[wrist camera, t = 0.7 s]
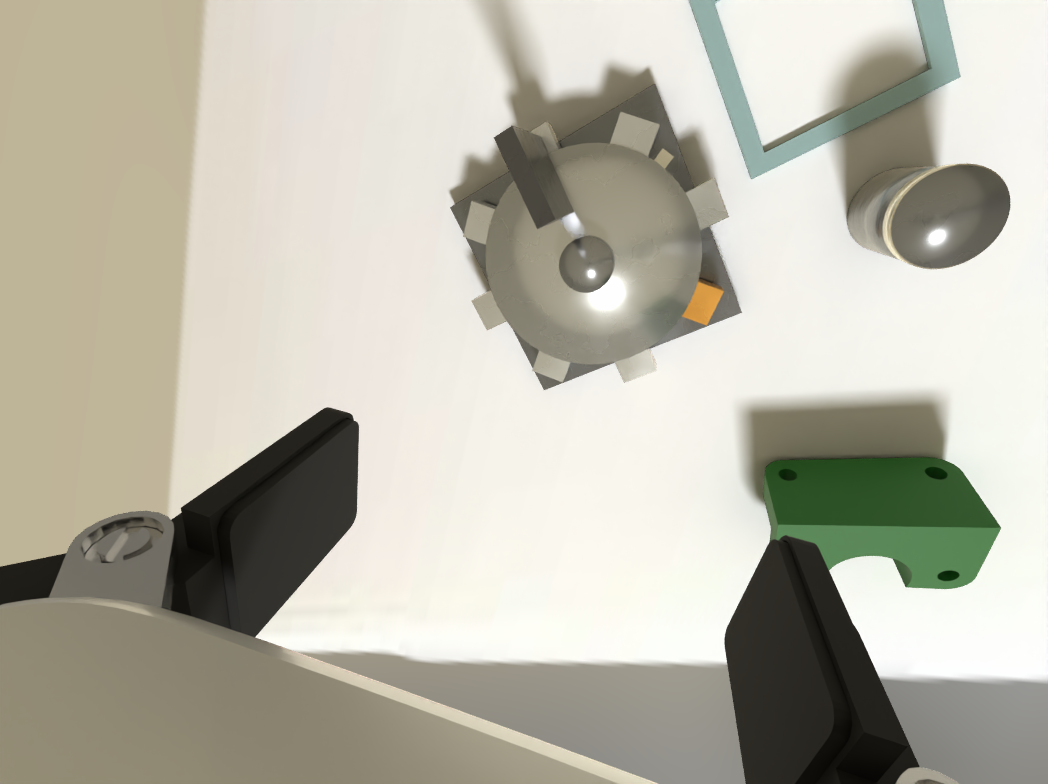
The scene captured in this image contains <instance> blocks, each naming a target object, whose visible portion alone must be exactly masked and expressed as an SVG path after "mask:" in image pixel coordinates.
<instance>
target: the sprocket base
mask: <svg viewBox="0 0 1048 784" xmlns="http://www.w3.org/2000/svg"><path fill="white" fill-rule="evenodd" d="M620 112H623V113H626V114H629V115H632V116H635V117H638V118H641V119H644V120H648V121H651V122H654V123H657V124H660V127H659V130H658V133H657V135H656V138H655V141H654V143H653V146H652V149H651V151H650V154H649V158H651V159H653V160H654V161H656V162H657V163H659V164H660V165H661V166H662V167H663V168H665V169H666V170H667V171H668V172H669V173H670V174H671V175H672V176H673V177H674V178H675V179H676V181H677V182H678V183H679V184H680V186H681V187H682V189H683V190H684V192H686V191H688V190H690V189H692V188H694V186H693V183H692V180H691V178H690V175H689V172H688V170H687V167H686V165H685V162H684V159H683V157H682V154H681V151H680V149H679V146H678V144H677V141H676V138H675V136H674V133H673V130H672V128H671V125H670V123H669V120H668V117H667V115H666V112H665V109H664V107H663V104H662V101H661V99H660V96H659V94H658V91H657V88H656V86H655V84H654V85H652V86H650V87H649V88H647V89H645V90H644V91H642V92H640V93H639V94H637V95H635V96H634V97H632V98H630V99H629V100H627V101H625V102H624V103H622V104H620V105H619V106H617V107H616V108H614V109H612V110H611V111H609V112H607V113H606V114H604V115H602V116H601V117H599V118H597V119H596V120H594V121H592V122H591V123H589V124H587V125H586V126H584V127H582V128H581V129H579V130H577V131H576V132H574V133H573V134H571V135H569V136H568V137H566V138H564V139H563V140H561V141H559V144H560V146H561V148H565V147H567V146H572V145H577V144H582V143H608V144H610V142H611V139H612V136H613V133H614V130H615V127H616V124H617V121H618V118H619V115H620ZM513 181H514V179H513V177H512V175H511V173H510V172H508V173H506V174H505V175H503V176H501V177H500V178H498V179H496V180H495V181H493V182H491V183H490V184H488V185H487V186H485V187H483V188H482V189H480V190H478V191H477V192H475V193H473V194H472V195H470V196H468V197H467V198H465V199H463V200H462V201H460V202H458V203H457V204H455V205H453V206H452V207H450V208H451V210H452V212H453V214H454V216H455V218H456V220H457V222H458V224H459V226H460V228H461V230H462V231H463V233H464V231H465V227H466V222H467V218H468V214H469V210H470V205H471V201H476V200H480V201H483V202H486V203H488V204H491V205H494V206H497V205H498V203H499V201H500V199H501V197H502V196H503V194H504V193H505V191H506V190H507V188H508V187H509V186H510V185H511V183H512V182H513ZM700 234H701V240H702V261H701V270H700V275H699V279H702V280H704V281H707V282H710V283H713V284H716V285H718V286H721V287H722V289H723V290H724V292H723V294H722V296H721V298H720V300H719V302H718V304H717V306H716V308H715V310H714V312H713V314H712V316H711V318H710V320H709V322H708V324H707V325H704V324H701V323H698V322H696V321H693V320H690V319H687V318H685V317H681V318H680V319H679V321H678V322H677V323H676V325H675V326H674V327H673V328H672V329H671V330H670V331H669V332H668V333H667V334H666V335H665V336H664V337H663V338H662V339H660V340H659V341H658V342H657V343H655V344H654V345H652V346H651V347H649V348H653V347H655V346H658V345H660V344H663V343H666V342H668V341H671V340H673V339H676V338H678V337H681V336H683V335H686V334H688V333H691V332H694V331H696V330H699V329H701V328H704V327H706V326H709V325H711V324H714V323H716V322H719V321H722V320H724V319H727V318H729V317H732V316H734V315H737V314H739V313H742V312H741V309H740V307H739V304H738V301H737V299H736V296H735V293H734V291H733V288H732V286H731V283H730V280H729V278H728V275H727V272H726V270H725V267H724V265H723V262H722V259H721V257H720V254H719V251H718V249H717V246H716V243H715V241H714V238H713V236H712V233H711V230H710V228H709V226H708V227H706V228H704V229H702V230H700ZM466 239H467V241H468V243H469V245H470V247H471V249H472V251H473V253H474V255H475V257H476V259H477V261H478V263H479V264H480V266H481V268H482V270H483V272H484V274H485V276H486V278H487V280H488V276H487V271H486V257H485V253H486V245H485V244H482V243H479V242H477V241H474V240H471V239H468V238H466ZM513 331H514V330H513ZM514 332H515V331H514ZM515 334H516V336H517V338H518V340H519V342H520V344H521V346H522V348H523V350H524V352H525V354H526V356H527V358H528V360H529V362H530V364H531V366H532V367H534V364H535V361H536V358H537V356H538V353H539V350H538V349H536V348H535V347H533V346H531V345H530V344H529V343H528V342H526V341H525V340H524V339H523V338H521V337H520V336H519V335H518V334H517V333H516V332H515ZM612 363H615V362H611V363H606V364H592V365H591V364H578V363H572V362H571V363H570V366H569V368H568V371H567V374H566V376H565V378H564V380H563V382H560V381H558V380H555V379H552V378H550V377H547V376H545V375H542V374H540V373H537V372H535V373H536V375H537V377H538V379H539V381H540V383H541V385H542V387H543V389H544V390H546V389H548V388H551V387H554V386H556V385H559V384H561V383H564V382H566V381H569V380H571V379H574V378H576V377H579V376H582V375H584V374H587V373H589V372H592V371H594V370H597V369H599V368H602V367H604V366H607V365H610V364H612Z"/></svg>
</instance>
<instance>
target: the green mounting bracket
mask: <svg viewBox="0 0 1048 784" xmlns="http://www.w3.org/2000/svg"><path fill="white" fill-rule="evenodd" d="M763 497H764V501H765V505H766V509H767V513H768V517H769V521H770V525H771V534H770V541H771V540H773V539H776V540H780V538H781V537H783V536H785V535H787V536H791V537H795V538H798V539H802V540H805V541H809V542H812V543H815V544H816V545H817V546H818V548H819V550H820V552H821V554H822V556H823V559H824V561H825V563H826V565H827V568H828V570H830V569H831V568H832V567H833V566H835V565H836V564H838V563H840V562H842V561H844V560H847V559H851V558H855V557H860V556H883V557H889V558H893V560H894V562H895V565H896V567H897V569H898V571H899V573H900V576H901V578H902V580H903V582H904V584H905V587H912V588H934V589H952V588H958V587H961V586H964V585H967V584H969V583H970V582H972V581H973V580H974V579H975V578H976V576H977V574H978V572H979V570H980V568H981V566H982V564H983V562H984V561H985V559H986V557H987V555H988V553H989V551H990V549H991V547H992V545H993V543H994V541H995V539H996V537H997V535H998V533H999V531H1000V529H1001V527H1000V526H999V524H998V523H997V521H996V520H995V518H994V517H993V515H992V514H991V512H990V511H989V510H988V508H987V507H986V505H985V504H984V502H983V501H982V499H981V498H980V496H979V495H978V494H977V492H976V491H975V489H974V488H973V486H972V485H971V483H970V482H969V481H968V479H967V478H966V476H965V475H964V473H963V472H962V471H961V470H960V469H959V468H958V467H957V466H955V465H954V464H952V463H950V462H947V461H945V460H942V459H938V458H930V457H920V458H867V459H814V460H779V461H775V462H772V463H770V464H769V465H768V466H767V467H766V469H765V475H764V487H763Z"/></svg>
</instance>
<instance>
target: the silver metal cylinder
mask: <svg viewBox="0 0 1048 784" xmlns="http://www.w3.org/2000/svg"><path fill="white" fill-rule="evenodd" d="M1009 211H1010V195H1009V191H1008V188H1007V186H1006V184H1005V182H1004V181H1003V179H1002V178H1001V177H1000V176H999V175H998V174H997V173H996V172H994V171H992V170H991V169H989V168H986V167H984V166H980V165H976V164H950V165H943V166H931V167H909V168H896V169H891V170H888V171H885V172H882V173H880V174H878V175H876V176H875V177H873V178H872V179H870V180H869V181H868V182H866V183H865V184H864V185H863V186H862V187H861V188H860V189H859V191H858V192H857V193H856V195H855V196H854V198H853V200H852V202H851V204H850V206H849V210H848V214H847V225H848V229H849V232H850V234H851V236H852V238H853V239H854V240H855V241H856V242H857V243H858V244H859V245H861V246H862V247H864V248H866V249H869V250H872V251H875V252H878V253H881V254H884V255H887V256H890V257H893V258H896V259H899V260H901V261H903V262H905V263H908V264H910V265H913V266H916V267H920V268H925V269H943V268H948V267H953V266H956V265H959V264H961V263H964V262H966V261H968V260H970V259H972V258H974V257H975V256H977V255H978V254H980V253H981V252H982V251H984V250H985V249H986V248H987V247H988V246H989V245H990V244H991V243H992V242H993V241H994V240H995V239H996V238H997V237H998V235H999V234H1000V232H1001V231H1002V229H1003V227H1004V225H1005V223H1006V221H1007V218H1008V215H1009Z"/></svg>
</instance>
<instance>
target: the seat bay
mask: <svg viewBox="0 0 1048 784" xmlns="http://www.w3.org/2000/svg"><path fill="white" fill-rule="evenodd" d="M718 1H719V0H689V2H690V5H691V8H692V11H693V14H694V17H695V20H696V22H697V25H698V28H699V31H700V34H701V37H702V40H703V42H704V45H705V48H706V51H707V54H708V57H709V60H710V63H711V65H712V68H713V71H714V74H715V77H716V80H717V83H718V86H719V88H720V91H721V94H722V97H723V100H724V103H725V106H726V108H727V111H728V114H729V117H730V120H731V123H732V126H733V129H734V131H735V134H736V137H737V140H738V143H739V146H740V149H741V152H742V154H743V157H744V160H745V163H746V166H747V169H748V172H749V174H750V177H751V179H753V178H755V177H757V176H759V175H761V174H763V173H765V172H767V171H770V170H772V169H774V168H776V167H778V166H780V165H782V164H784V163H786V162H788V161H790V160H792V159H794V158H796V157H798V156H800V155H802V154H804V153H806V152H808V151H810V150H812V149H814V148H817V147H819V146H821V145H823V144H825V143H827V142H829V141H831V140H833V139H835V138H837V137H839V136H841V135H843V134H845V133H847V132H849V131H851V130H853V129H855V128H857V127H859V126H861V125H863V124H866V123H868V122H870V121H872V120H874V119H876V118H878V117H880V116H882V115H884V114H886V113H888V112H890V111H892V110H894V109H896V108H898V107H900V106H902V105H904V104H906V103H908V102H910V101H913V100H915V99H917V98H919V97H921V96H923V95H925V94H927V93H929V92H931V91H933V90H935V89H937V88H939V87H941V86H943V85H945V84H947V83H949V82H951V81H953V80H955V79H957V78H959V77H961V76H960V72H959V68H958V63H957V59H956V54H955V50H954V45H953V41H952V37H951V32H950V28H949V23H948V19H947V14H946V10H945V6H944V1H943V0H912V1H913V5H914V9H915V13H916V17H917V22H918V26H919V30H920V34H921V38H922V42H923V46H924V51H925V55H926V59H927V63H928V67H929V70H927V71H925V72H923V73H921V74H919V75H917V76H915V77H913V78H911V79H909V80H907V81H905V82H903V83H901V84H899V85H897V86H895V87H893V88H891V89H889V90H887V91H885V92H884V93H882V94H880V95H878V96H876V97H874V98H872V99H870V100H868V101H866V102H864V103H862V104H860V105H858V106H856V107H854V108H852V109H850V110H848V111H846V112H844V113H842V114H840V115H838V116H836V117H834V118H832V119H830V120H828V121H826V122H824V123H822V124H820V125H818V126H816V127H814V128H812V129H810V130H808V131H806V132H804V133H802V134H800V135H798V136H796V137H794V138H792V139H790V140H788V141H786V142H784V143H782V144H780V145H778V146H777V147H775V148H773V149H771V150H769V151H767V152H765V153H764V150H763V147H762V144H761V141H760V138H759V135H758V132H757V129H756V126H755V123H754V120H753V117H752V114H751V111H750V108H749V105H748V102H747V99H746V97H745V94H744V91H743V88H742V85H741V82H740V79H739V76H738V73H737V70H736V67H735V64H734V61H733V58H732V55H731V52H730V49H729V46H728V43H727V40H726V37H725V34H724V31H723V28H722V25H721V22H720V19H719V16H718V13H717V10H716V7H715V3H716V2H718Z"/></svg>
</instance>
